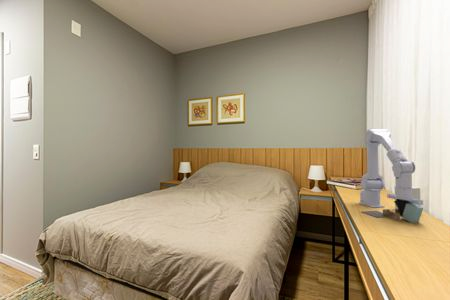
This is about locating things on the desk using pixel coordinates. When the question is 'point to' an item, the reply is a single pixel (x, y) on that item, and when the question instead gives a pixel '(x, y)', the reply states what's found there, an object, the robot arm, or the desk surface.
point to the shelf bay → (392, 214)
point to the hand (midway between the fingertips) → (404, 216)
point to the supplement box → (414, 194)
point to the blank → (412, 212)
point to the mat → (374, 213)
